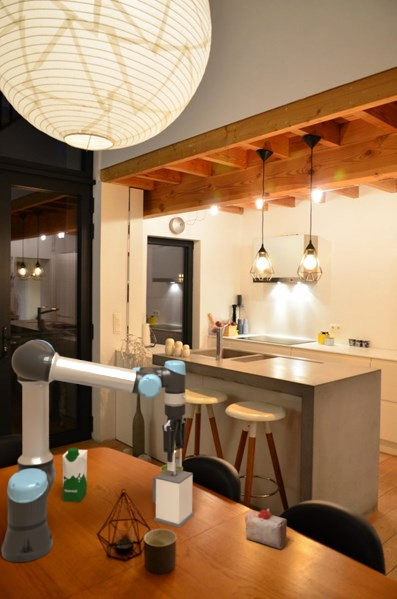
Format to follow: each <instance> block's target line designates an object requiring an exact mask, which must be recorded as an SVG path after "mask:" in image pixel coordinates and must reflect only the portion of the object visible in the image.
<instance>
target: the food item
mask: <svg viewBox="0 0 397 599" xmlns="http://www.w3.org/2000/svg"><path fill="white" fill-rule="evenodd" d="M244 522H245V539H246V540H249V541H251V542H257V543H259V544H262V545H266V546H269V547H272V548H275V549H279V550H282V549H284V546H286V544H287V538H288V537H287V531H288V530H287V528H288V527H287V525H288V524H287V522H288V520H287V519H286V518H283V517H280V516H276V515H274V514H273V513H272V512H271V511H270V508H267V509H262V510H260V511H257V510H252V509H251V510H250V511H248V512H247V514H245V516H244Z"/></svg>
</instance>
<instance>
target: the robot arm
mask: <svg viewBox="0 0 397 599" xmlns="http://www.w3.org/2000/svg"><path fill="white" fill-rule="evenodd" d="M11 366H12V369H13V371H14V373H16V375H17V382H18V383H19V384H21V387H22V454H21V455H20V456H19V457H18V459H17V472H15V473H14V474H13V475H11V476H10V478H9V480H8V483H7V484H8V485H7V489H6V490H7V527H6V528H7V529H6V532H5V536H4V539H3V541H2V544H1V556H2V558H3V559H4V560H6V561H8V562H11V563H26V562H31V561H35V560H38V559H39V558H40V559H41V558H42V557H44V556H46V554H48V553H50V551H51V550H52V549H53V545H54V544H53V540H54V539H53V535H52V532H51V529H50V527H49V524H48V497H49V494H50V492H51V489H52V487H53V484H54V483H55V480H56V469H55V468H56V467H55V465H54V455H53V454H52V453H51V452H50V441H49V440H50V439H49V438H50V436H49V434H50V432H49V431H50V427H49V426H50V417H49V416H50V415H49V414H50V405H49V404H50V398H49V397H50V388H49V387H50V385H49V384H50V383H52V382H53V381H58V382H59V381H61V382H66V383H71V384H76V385H77V384H79V385H83V386H89V387H94V388H100V389H106V390H111V391H112V390H113V391H118V392H125V393H130V394H134V395H140V396H142V397H143V398H145V399H147V400H149V399H154V398H156V397H158V396H159V395H160V393H161V391H162V389H164V403H165V404H164V415H165V416H166V417H167V418H166V423H165V424H163V425H162V426H161V428H162V432H163V434H162V435H163V436H162V437H163V438H162V442H163V443H162V444H163V449H162V450H163V452H164V453H166V456H167V457H166V458H167V460H166V462H167V463H166V465H167V470H170V471H175V452H174V447H177V448H180V458H179V459H176V466H177V467H181V466H182V464H183V463H182V462H183V460H182V451H183V449H185V445H186V429H187V421H188V420H187V417H184V416H185V415H186V404H185V403H186V398H187V397H186V381H187V380H186V378H187V377H186V376H187V373H186V363H185V362H184V361H182V360H175V359H174V360H173V359H172V360H167V361H165V362H164V366H138V367H133V368H132V369H130V368H126V367H119V366H115V365H109V364H103V363H97V362H93V361H87V360H80V359H77V358H71V357H65V356H61V355H60V354H59V353H58V352H56V351H55V349H54V348H53V346H52V344H50V342H47V341H45V340H41V339H32V340H29V341H27V342H25V343H24V344H22V345H20V346H18V347H17V348H16V350H14V352H13V354H12V357H11ZM182 467H183V466H182Z"/></svg>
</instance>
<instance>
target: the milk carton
mask: <svg viewBox="0 0 397 599" xmlns="http://www.w3.org/2000/svg"><path fill="white" fill-rule="evenodd" d="M61 456H62V460H61V461H62V501H63V502H73V503H74V502H75V503H80V502H82V500H83V499H84V498H85V496H86V495H87V486H88V485H87V484H88V482H87V481H88V480H87V479H88V477H87V476H88V472H87V470H88V463H87V462H88V449H79V448H78V447H70V448H68V449H67V451H66V452H65V453H64V454H63V455H61Z"/></svg>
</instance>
